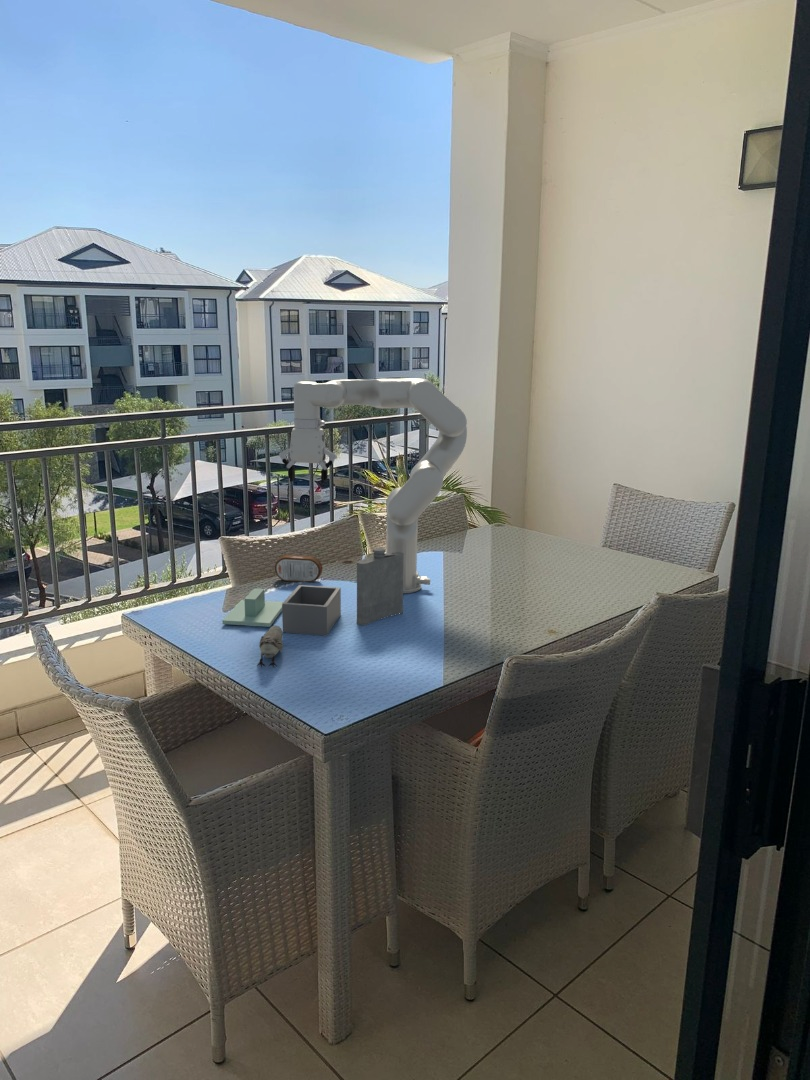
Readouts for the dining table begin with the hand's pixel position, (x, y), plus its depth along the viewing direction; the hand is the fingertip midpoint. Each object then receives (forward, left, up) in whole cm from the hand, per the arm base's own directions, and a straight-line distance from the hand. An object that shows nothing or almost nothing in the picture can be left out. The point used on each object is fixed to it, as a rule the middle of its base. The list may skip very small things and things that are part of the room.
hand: (308, 481), depth 236 cm
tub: (-9, +30, -33) cm, 46 cm away
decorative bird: (-5, +53, -34) cm, 63 cm away
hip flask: (-26, +22, -34) cm, 48 cm away
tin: (+5, -5, -34) cm, 34 cm away
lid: (+8, +28, -34) cm, 44 cm away
